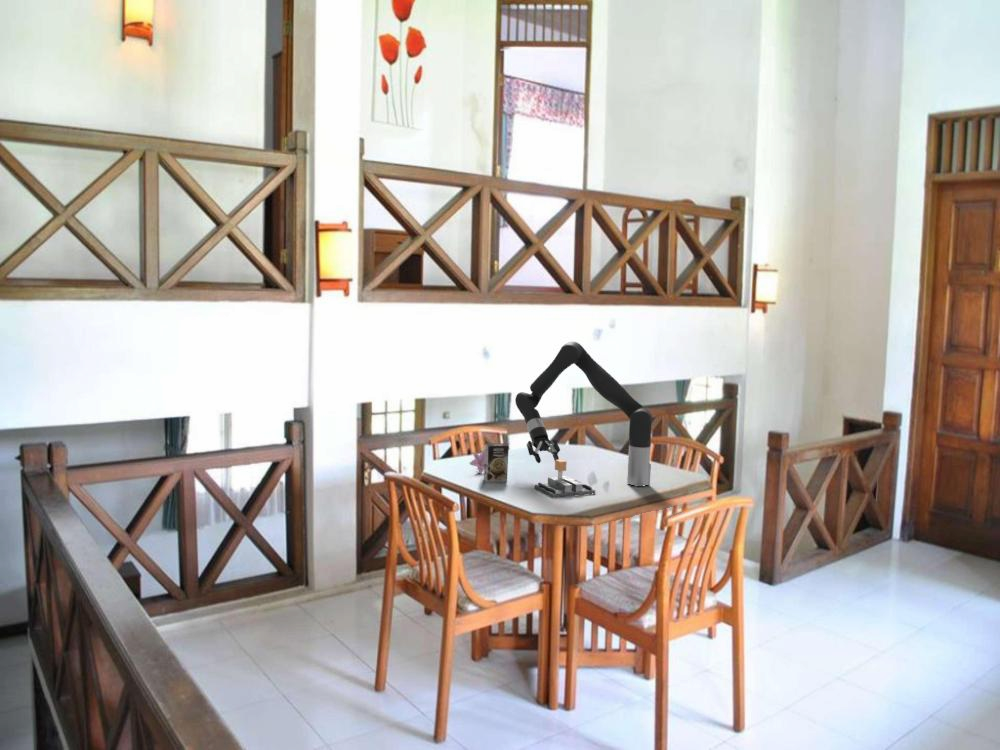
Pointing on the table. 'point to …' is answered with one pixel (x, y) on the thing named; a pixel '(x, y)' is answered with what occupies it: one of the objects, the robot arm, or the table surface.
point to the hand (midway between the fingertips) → (548, 461)
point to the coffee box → (496, 462)
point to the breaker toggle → (560, 467)
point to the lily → (479, 461)
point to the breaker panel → (559, 494)
